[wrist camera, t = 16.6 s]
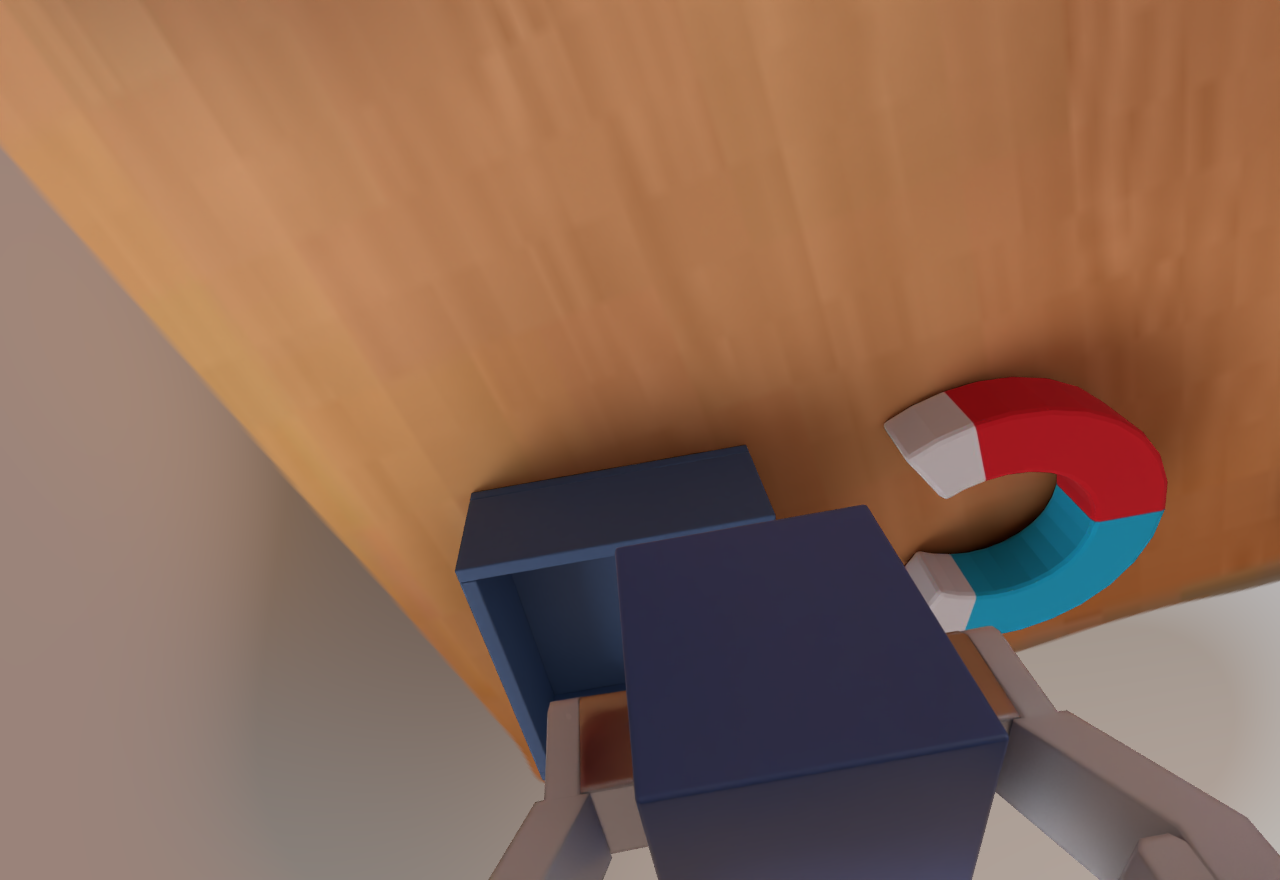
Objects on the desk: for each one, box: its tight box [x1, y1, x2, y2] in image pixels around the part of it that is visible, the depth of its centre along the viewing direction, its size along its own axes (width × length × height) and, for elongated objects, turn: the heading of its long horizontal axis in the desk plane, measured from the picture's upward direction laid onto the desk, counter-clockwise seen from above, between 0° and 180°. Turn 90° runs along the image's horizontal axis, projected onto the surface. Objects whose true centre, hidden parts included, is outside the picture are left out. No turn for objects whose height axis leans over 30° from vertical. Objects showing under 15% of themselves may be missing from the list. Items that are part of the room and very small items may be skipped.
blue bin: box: [455, 445, 776, 780], centre depth 28 cm, size 13×11×4 cm
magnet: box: [884, 377, 1167, 634], centre depth 27 cm, size 12×3×10 cm
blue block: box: [615, 505, 1009, 880], centre depth 11 cm, size 4×4×4 cm
